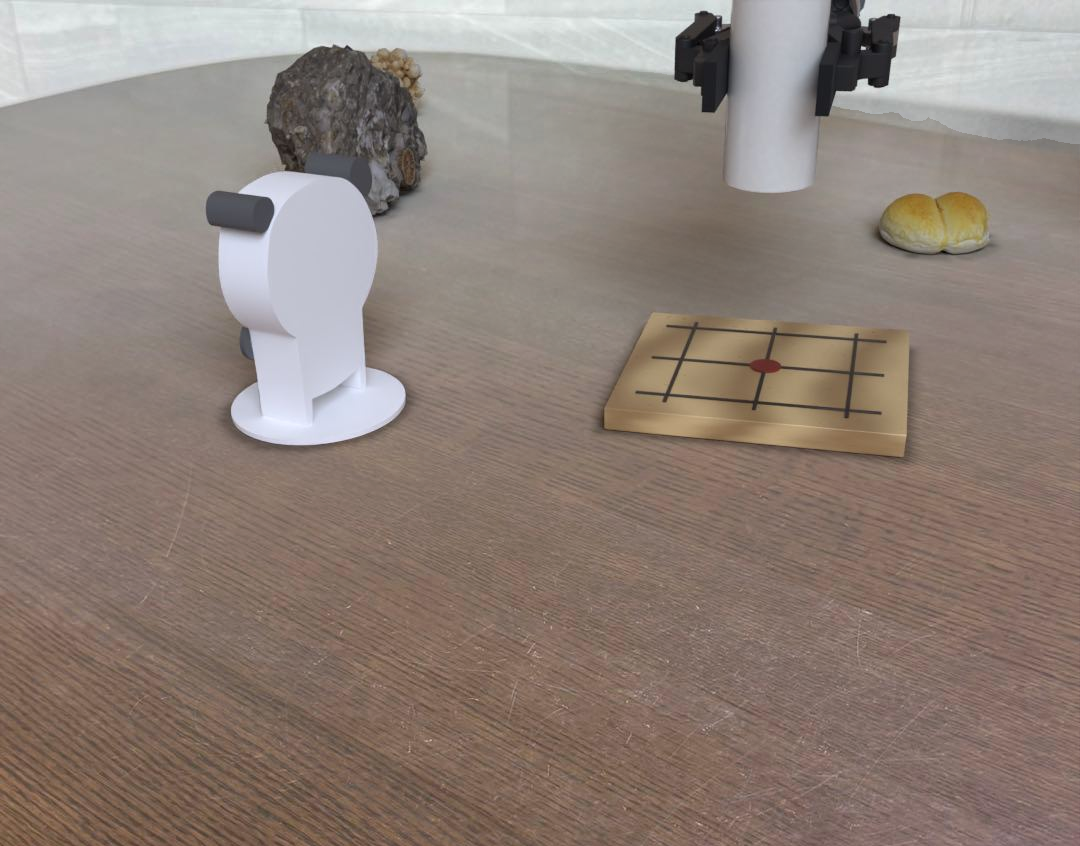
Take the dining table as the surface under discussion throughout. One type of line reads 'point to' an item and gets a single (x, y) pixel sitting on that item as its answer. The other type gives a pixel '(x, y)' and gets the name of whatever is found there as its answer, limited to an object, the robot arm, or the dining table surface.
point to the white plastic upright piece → (304, 302)
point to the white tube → (773, 94)
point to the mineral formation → (401, 70)
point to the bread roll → (936, 223)
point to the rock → (348, 119)
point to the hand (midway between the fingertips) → (766, 89)
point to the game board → (766, 384)
